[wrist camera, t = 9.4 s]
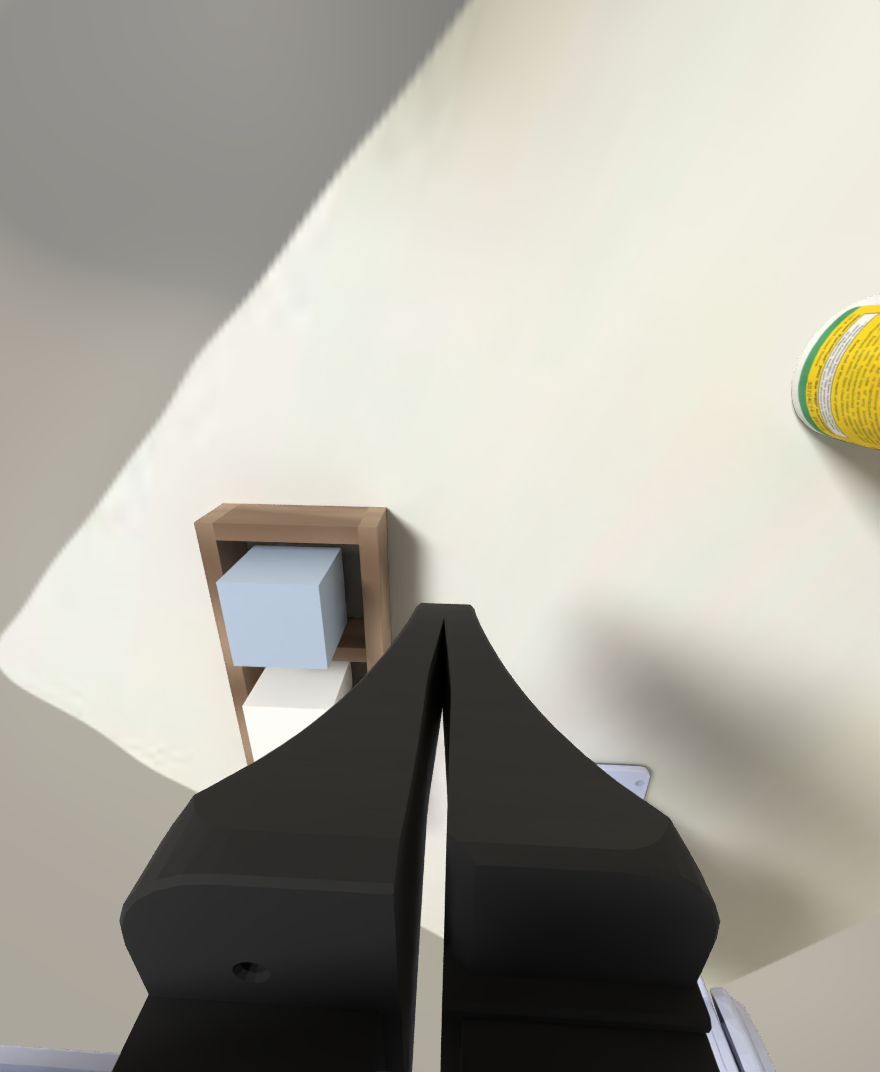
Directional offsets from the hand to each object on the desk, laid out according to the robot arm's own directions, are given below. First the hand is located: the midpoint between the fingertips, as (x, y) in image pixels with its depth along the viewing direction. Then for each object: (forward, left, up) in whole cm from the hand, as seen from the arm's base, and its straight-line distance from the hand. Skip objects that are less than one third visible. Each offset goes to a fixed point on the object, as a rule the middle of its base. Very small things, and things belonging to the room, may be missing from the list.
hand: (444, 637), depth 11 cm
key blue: (-4, +7, -9) cm, 12 cm away
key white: (-10, +7, -9) cm, 15 cm away
